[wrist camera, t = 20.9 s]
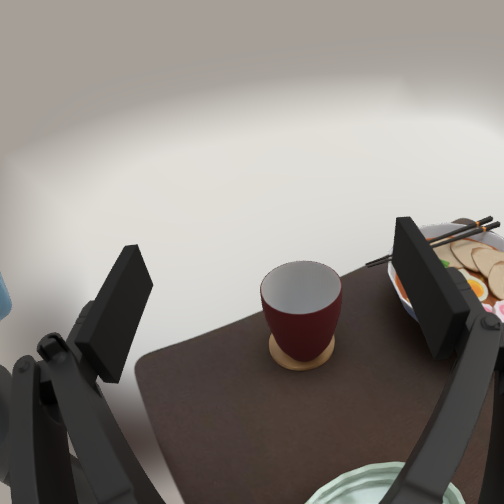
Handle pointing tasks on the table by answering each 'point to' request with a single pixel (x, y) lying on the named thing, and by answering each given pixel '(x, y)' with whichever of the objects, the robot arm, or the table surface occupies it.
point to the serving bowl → (369, 486)
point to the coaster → (297, 365)
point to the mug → (302, 307)
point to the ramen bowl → (464, 260)
